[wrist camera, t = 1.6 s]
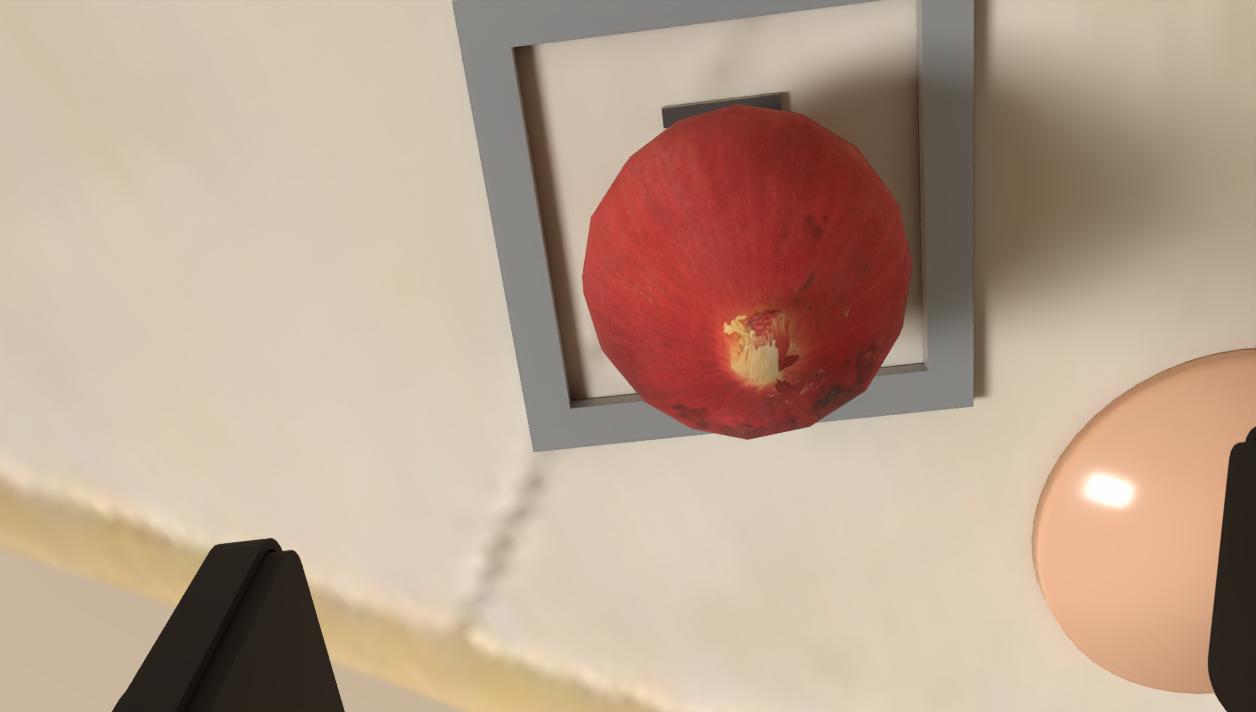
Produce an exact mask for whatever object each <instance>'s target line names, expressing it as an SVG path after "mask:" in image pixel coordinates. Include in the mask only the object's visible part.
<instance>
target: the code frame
mask: <svg viewBox="0 0 1256 712" xmlns="http://www.w3.org/2000/svg"><path fill="white" fill-rule="evenodd" d="M872 1H880V0H453V1H452V4H453V10H454V15H455V21H456V26H457V32H458V37H459V43H460V48H461V54H462V59H463V65H464V70H465V76H466V81H467V87H468V92H469V98H470V104H471V109H472V115H473V120H474V126H475V131H476V137H477V142H478V148H479V153H480V159H481V164H482V170H483V175H484V181H485V186H486V192H487V197H488V203H489V208H490V214H491V220H492V225H493V231H494V236H495V242H496V247H497V253H498V258H499V264H500V269H501V275H502V280H503V286H504V291H505V297H506V302H507V308H508V313H509V319H510V324H511V330H512V336H513V341H514V347H515V352H516V358H517V363H518V369H519V374H520V380H521V385H522V391H523V396H524V402H525V407H526V413H527V418H528V424H529V429H530V435H531V440H532V446H533V452H539V451H548V450H558V449H568V448H577V447H587V446H597V445H606V444H616V443H626V442H635V441H645V440H654V439H664V438H674V437H683V436H693V435H703V434H712V433H711V432H706V431H700V430H695V429H691V428H689V427H687V426H686V425H684V424H682V423H680V422H679V421H677V420H675V419H674V418H672V417H670V416H668V415H667V414H665V413H663V412H661V411H660V410H658V409H656V408H654V407H653V406H651V405H649V404H647V403H646V402H644V401H643V399H642V398H641V397H640V396H639V395H638V394H632V395H623V396H614V397H604V398H595V399H585V400H576V401H571V396H570V389H569V383H568V377H567V371H566V365H565V359H564V352H563V346H562V340H561V334H560V328H559V322H558V315H557V309H556V303H555V297H554V291H553V285H552V278H551V272H550V266H549V260H548V254H547V247H546V241H545V235H544V229H543V223H542V217H541V210H540V204H539V198H538V192H537V186H536V180H535V173H534V167H533V161H532V155H531V149H530V143H529V136H528V130H527V124H526V118H525V112H524V105H523V99H522V93H521V87H520V81H519V75H518V68H517V62H516V56H515V50H514V47H518V46H526V45H534V44H542V43H550V42H558V41H566V40H573V39H581V38H589V37H597V36H605V35H613V34H621V33H628V32H636V31H644V30H652V29H660V28H668V27H676V26H683V25H691V24H699V23H707V22H715V21H723V20H731V19H738V18H746V17H754V16H762V15H770V14H778V13H786V12H793V11H801V10H809V9H817V8H825V7H833V6H841V5H848V4H856V3H864V2H872ZM917 38H918V91H919V144H920V197H921V250H922V303H923V356H924V363H923V364H914V365H905V366H895V367H886V368H879V370H878V372H877V373H876V375H875V377H874V378H873V380H872V382H871V383H870V385H869V387H868V388H867V390H866V391H865V392H863V393H862V394H860V395H859V396H857V397H856V398H854V399H852V400H851V401H849V402H848V403H846V404H845V405H843V406H841V407H840V408H838V409H837V410H835V411H834V412H832V413H830V414H829V415H827V416H826V417H824V418H823V419H821V420H819V421H818V422H828V421H837V420H847V419H857V418H866V417H876V416H886V415H895V414H905V413H914V412H924V411H934V410H943V409H953V408H963V407H972V406H974V0H917ZM734 104H740V105H747V106H753V107H760V108H767V109H774V110H781V102H780V93H773V94H765V95H757V96H749V97H740V98H732V99H724V100H716V101H708V102H700V103H692V104H683V105H675V106H667V107H662V116H663V125H664V128H669V127H670V126H671V125H673V124H674V123H675V122H676V121H678V120H681V119H685V118H688V117H692V116H695V115H699V114H703V113H706V112H710V111H713V110H717V109H720V108H724V107H727V106H731V105H734ZM818 422H816V423H818Z"/></svg>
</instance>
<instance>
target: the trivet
mask: <svg viewBox="0 0 1256 712" xmlns="http://www.w3.org/2000/svg"><path fill="white" fill-rule="evenodd" d="M1255 426H1256V349H1252V350H1239V351H1232V352H1226V353H1220V354H1214V355H1210V356H1207V357H1203V358H1200V359H1196V360H1192V361H1189V362H1186V363H1183V364H1181V365H1178V366H1176V367H1173V368H1171V369H1168V370H1166V371H1163V372H1161V373H1159V374H1157V375H1155V376H1153V377H1151V378H1149V379H1147V380H1145V381H1144V382H1142V383H1140V384H1138V385H1136V386H1135V387H1133V388H1132V389H1130V390H1129V391H1127V392H1126V393H1124V394H1123V395H1121V396H1120V397H1118V398H1117V399H1115V400H1114V401H1112V402H1111V403H1110V404H1109V405H1108V406H1106V407H1105V408H1104V409H1103V410H1102V411H1100V412H1099V413H1098V414H1097V415H1096V416H1094V417H1093V418H1092V419H1091V420H1090V421H1089V422H1088V423H1087V424H1086V426H1085V427H1084V428H1083V429H1082V430H1081V431H1080V432H1079V433H1078V434H1077V435H1076V436H1075V437H1074V439H1073V440H1072V441H1071V443H1070V444H1069V445H1068V446H1067V448H1066V449H1065V450H1064V452H1063V453H1062V454H1061V456H1060V457H1059V459H1058V461H1057V462H1056V464H1055V466H1054V468H1053V469H1052V471H1051V473H1050V475H1049V476H1048V479H1047V481H1046V483H1045V486H1044V488H1043V491H1042V493H1041V495H1040V498H1039V502H1038V505H1037V509H1036V513H1035V517H1034V523H1033V533H1032V554H1033V563H1034V568H1035V572H1036V577H1037V581H1038V583H1039V586H1040V588H1041V590H1042V593H1043V595H1044V598H1045V600H1046V601H1047V603H1048V605H1049V607H1050V609H1051V611H1052V612H1053V614H1054V616H1055V618H1056V619H1057V621H1058V623H1059V624H1060V626H1061V628H1062V629H1063V631H1064V632H1065V634H1066V635H1067V636H1068V638H1069V639H1070V640H1071V641H1072V642H1073V643H1074V645H1075V646H1076V647H1077V648H1078V649H1079V650H1080V651H1081V652H1082V653H1084V654H1085V655H1086V656H1087V657H1088V658H1090V659H1091V660H1092V661H1093V662H1094V663H1096V664H1098V665H1099V666H1101V667H1102V668H1104V669H1106V670H1107V671H1109V672H1111V673H1112V674H1115V675H1117V676H1119V677H1121V678H1124V679H1126V680H1128V681H1130V682H1133V683H1137V684H1140V685H1143V686H1146V687H1150V688H1154V689H1159V690H1165V691H1171V692H1179V693H1194V694H1206V693H1214V690H1213V688H1212V685H1211V682H1210V678H1209V673H1208V652H1209V642H1210V633H1211V623H1212V614H1213V604H1214V595H1215V586H1216V576H1217V567H1218V557H1219V548H1220V538H1221V529H1222V520H1223V510H1224V501H1225V491H1226V482H1227V472H1228V463H1229V456H1230V452H1231V450H1232V448H1233V446H1234V445H1235V444H1237V443H1239V442H1245V440H1246V437H1247V435H1248V433H1249V432H1250V430H1251V429H1252V428H1254V427H1255Z"/></svg>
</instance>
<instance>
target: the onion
mask: <svg viewBox="0 0 1256 712" xmlns="http://www.w3.org/2000/svg"><path fill="white" fill-rule="evenodd" d="M911 270H912V260H911V256H910V251H909V247H908V243H907V239H906V234H905V230H904V226H903V221H902V217H901V213H900V209H899V206H898V204H897V202H896V200H895V199H894V197H893V195H892V194H891V192H890V191H889V190H888V188H887V187H886V186H885V184H884V183H883V182H882V180H881V179H880V178H879V176H878V175H877V174H876V172H875V171H874V169H873V168H872V167H871V165H870V164H869V163H868V161H867V160H866V159H865V157H864V156H863V155H862V153H861V152H860V151H859V149H858V148H857V147H856V146H854V145H853V144H851V143H849V142H848V141H846V140H844V139H843V138H841V137H839V136H838V135H836V134H834V133H833V132H831V131H829V130H828V129H826V128H824V127H823V126H821V125H819V124H818V123H816V122H814V121H813V120H811V119H809V118H808V117H806V116H804V115H801V114H798V113H794V112H787V111H781V110H774V109H767V108H760V107H753V106H747V105H740V104H734V105H731V106H727V107H724V108H720V109H717V110H713V111H710V112H706V113H703V114H699V115H695V116H692V117H688V118H685V119H681V120H678V121H676V122H675V123H674V124H673V125H671V126H670V127H669V128H667V129H666V130H665V131H663V132H662V133H661V134H659V135H658V136H657V137H655V138H654V139H653V140H652V141H650V142H649V143H648V144H646V145H645V146H644V147H642V148H641V149H640V150H638V151H637V152H636V153H634V154H633V155H632V156H631V157H630V158H629V159H628V161H627V162H626V163H625V165H624V166H623V168H622V169H621V171H620V173H619V174H618V176H617V177H616V179H615V180H614V182H613V184H612V185H611V187H610V188H609V190H608V191H607V193H606V195H605V196H604V198H603V199H602V201H601V202H600V204H599V206H598V207H597V209H596V210H595V212H594V213H593V215H592V217H591V221H590V227H589V234H588V241H587V248H586V254H585V261H584V268H583V275H582V281H583V293H584V296H585V299H586V302H587V305H588V308H589V312H590V315H591V318H592V321H593V324H594V327H595V330H596V333H597V337H598V340H599V343H600V346H601V349H602V350H603V352H604V353H605V354H606V356H607V357H608V358H609V360H610V361H611V362H612V363H613V364H614V366H615V367H616V368H617V369H618V370H619V372H620V373H621V374H622V375H623V376H624V378H625V379H626V380H627V381H628V383H629V384H630V385H631V386H632V387H633V389H634V390H635V391H636V392H637V393H638V395H639V396H640V397H641V398H642V399H643V401H644V402H646V403H647V404H649V405H651V406H653V407H654V408H656V409H658V410H660V411H661V412H663V413H665V414H667V415H668V416H670V417H672V418H674V419H675V420H677V421H679V422H680V423H682V424H684V425H686V426H687V427H689V428H691V429H695V430H700V431H706V432H711V433H716V434H721V435H726V436H731V437H737V438H742V439H747V440H748V439H753V438H758V437H763V436H768V435H772V434H777V433H782V432H787V431H792V430H796V429H801V428H806V427H810V426H812V425H813V424H815V423H816V422H818V421H819V420H821V419H823V418H824V417H826V416H827V415H829V414H830V413H832V412H834V411H835V410H837V409H838V408H840V407H841V406H843V405H845V404H846V403H848V402H849V401H851V400H852V399H854V398H856V397H857V396H859V395H860V394H862V393H863V392H865V391H866V390H867V388H868V387H869V385H870V383H871V382H872V380H873V378H874V377H875V375H876V373H877V372H878V370H879V368H880V367H881V365H882V363H883V362H884V360H885V358H886V357H887V355H888V353H889V352H890V350H891V348H892V346H893V345H894V343H895V341H896V340H897V338H898V336H899V335H900V332H901V330H902V327H903V322H904V315H905V309H906V302H907V296H908V289H909V283H910V277H911Z"/></svg>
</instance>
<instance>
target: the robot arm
mask: <svg viewBox="0 0 1256 712" xmlns="http://www.w3.org/2000/svg"><path fill="white" fill-rule="evenodd" d="M1208 673H1209V678H1210V682H1211V685H1212V688H1213V690H1214V693H1215V695H1216V696H1217V698H1218V700H1219V701H1220V703H1221V704H1222V706H1223V707H1224V708H1225V710H1226V711H1227V712H1256V426H1255V427H1254V428H1252V429H1251V430H1250V432H1249V433H1248V435H1247V437H1246V440H1245V442H1239V443H1237V444H1235V445H1234V446H1233V448H1232V450H1231V452H1230V456H1229V463H1228V472H1227V482H1226V491H1225V501H1224V510H1223V520H1222V529H1221V538H1220V548H1219V557H1218V567H1217V576H1216V586H1215V595H1214V604H1213V614H1212V623H1211V633H1210V642H1209V652H1208ZM112 712H345V711H344V708H343V704H342V701H341V697H340V694H339V690H338V687H337V683H336V680H335V676H334V673H333V670H332V666H331V663H330V659H329V656H328V652H327V649H326V645H325V642H324V638H323V635H322V632H321V628H320V625H319V621H318V618H317V614H316V611H315V607H314V604H313V601H312V597H311V594H310V590H309V587H308V583H307V580H306V576H305V573H304V569H303V566H302V563H301V560H300V558H299V556H298V554H297V553H296V552H295V551H293V550H288V551H282V549H281V547H280V545H279V544H278V542H277V541H276V540H274V539H272V538H268V539H259V540H251V541H242V542H233V543H224V544H218V545H215V546H214V547H213V548H212V549H211V550H210V552H209V554H208V555H207V557H206V559H205V560H204V562H203V564H202V565H201V567H200V569H199V570H198V572H197V574H196V575H195V577H194V579H193V580H192V582H191V584H190V585H189V587H188V589H187V590H186V592H185V594H184V595H183V597H182V599H181V600H180V602H179V604H178V605H177V607H176V609H175V610H174V612H173V614H172V615H171V617H170V619H169V620H168V622H167V624H166V626H165V627H164V629H163V631H162V632H161V634H160V635H159V637H158V639H157V640H156V642H155V644H154V645H153V647H152V649H151V650H150V652H149V654H148V655H147V657H146V659H145V660H144V662H143V664H142V666H141V667H140V669H139V670H138V672H137V674H136V675H135V677H134V679H133V681H132V682H131V684H130V685H129V687H128V689H127V690H126V692H125V693H124V694H123V696H122V697H121V698H120V699H119V701H118V703H117V704H116V706H115V707H114V709H113V711H112Z"/></svg>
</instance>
